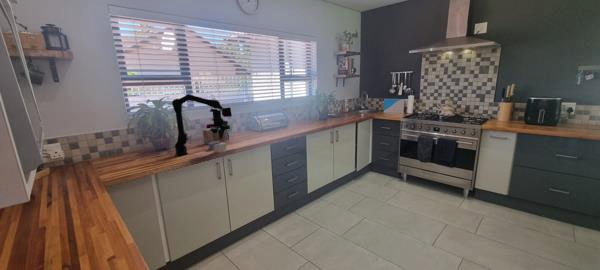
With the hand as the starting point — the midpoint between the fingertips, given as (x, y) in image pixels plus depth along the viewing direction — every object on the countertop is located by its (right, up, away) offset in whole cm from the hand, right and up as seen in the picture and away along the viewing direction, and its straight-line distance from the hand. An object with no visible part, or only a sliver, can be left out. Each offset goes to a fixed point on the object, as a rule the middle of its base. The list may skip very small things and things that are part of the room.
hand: (219, 138), depth 186 cm
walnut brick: (0, -1, 0) cm, 1 cm away
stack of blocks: (-11, -4, +30) cm, 32 cm away
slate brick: (-6, -8, +8) cm, 13 cm away
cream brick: (0, -9, +2) cm, 10 cm away
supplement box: (-44, -8, +13) cm, 47 cm away
